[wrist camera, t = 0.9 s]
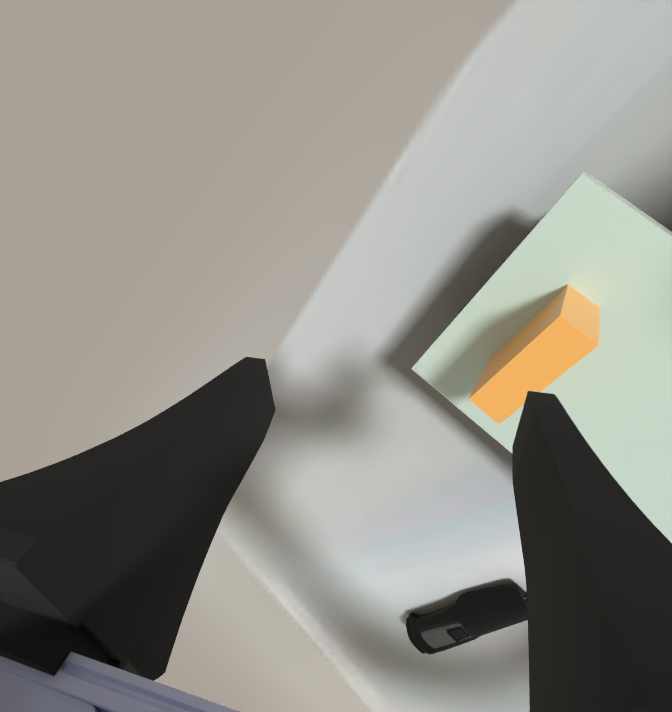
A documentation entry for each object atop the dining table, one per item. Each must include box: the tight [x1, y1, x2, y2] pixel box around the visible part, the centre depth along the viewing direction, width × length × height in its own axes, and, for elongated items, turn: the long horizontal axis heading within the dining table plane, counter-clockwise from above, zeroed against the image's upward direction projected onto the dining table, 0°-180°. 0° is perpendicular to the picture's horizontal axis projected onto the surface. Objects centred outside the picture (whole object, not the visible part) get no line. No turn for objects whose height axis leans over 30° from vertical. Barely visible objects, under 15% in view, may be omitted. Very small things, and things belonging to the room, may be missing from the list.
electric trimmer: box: [406, 584, 528, 654], centre depth 36 cm, size 4×16×3 cm, turn 147°
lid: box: [411, 171, 672, 543], centre depth 17 cm, size 16×12×6 cm
